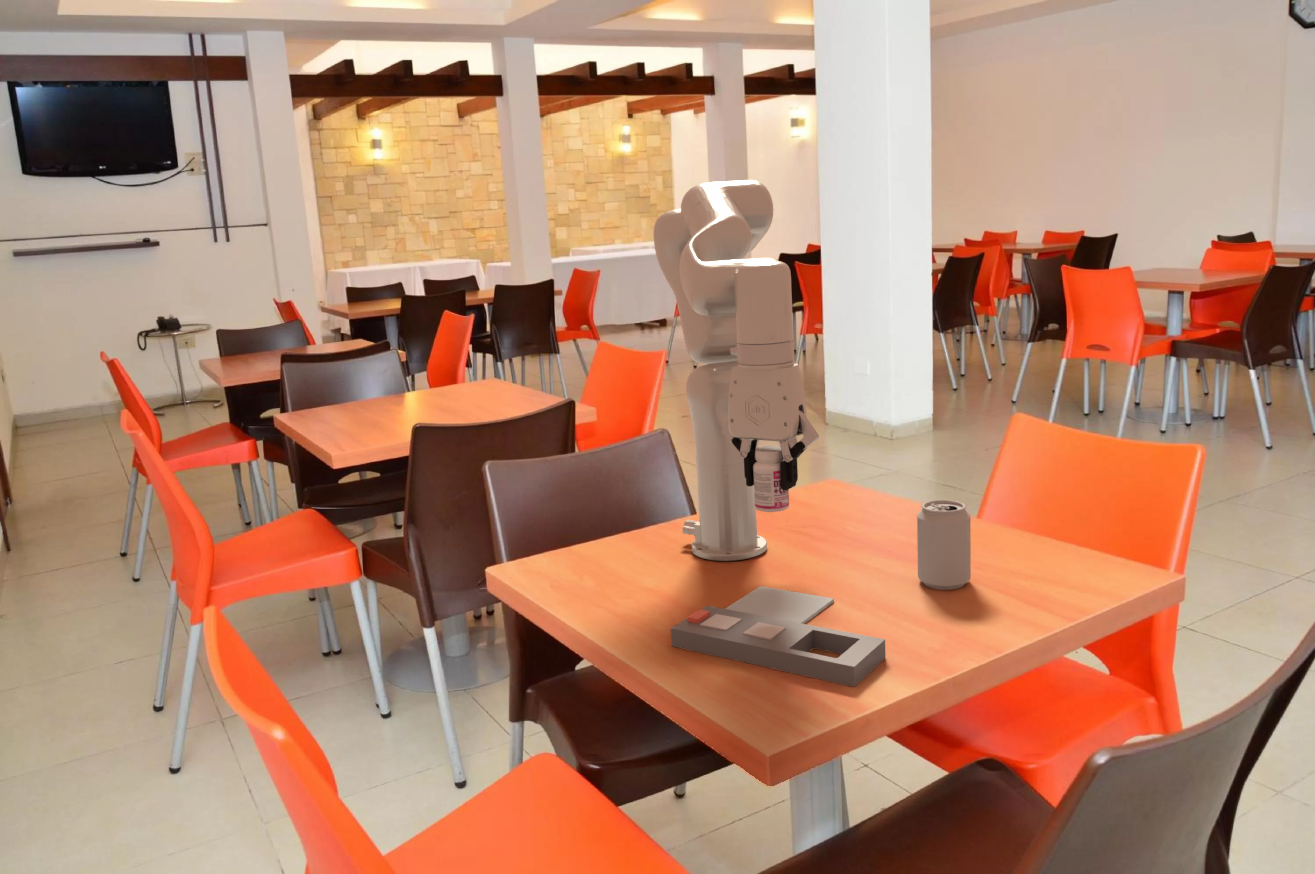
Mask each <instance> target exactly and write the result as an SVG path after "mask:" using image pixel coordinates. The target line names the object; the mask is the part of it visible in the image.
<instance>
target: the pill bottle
mask: <svg viewBox="0 0 1315 874" xmlns="http://www.w3.org/2000/svg"><path fill="white" fill-rule="evenodd" d="M755 458H756V460H757V462H756V463H755V464H754V465H753V473H754V495H755V508H756V511H759V512H762V513H763V512H765V513H777V512H783V511H786V510H787V509H789V507H790V494H789V490H790V489H788V490H782V489H781V476H780V463H781V462H782V461H784V458H783V454H782V451H781V447H780V445H778V446H777V445H766V446H760V447H759V446H758V448H757V449H756V450H755Z"/></svg>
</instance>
